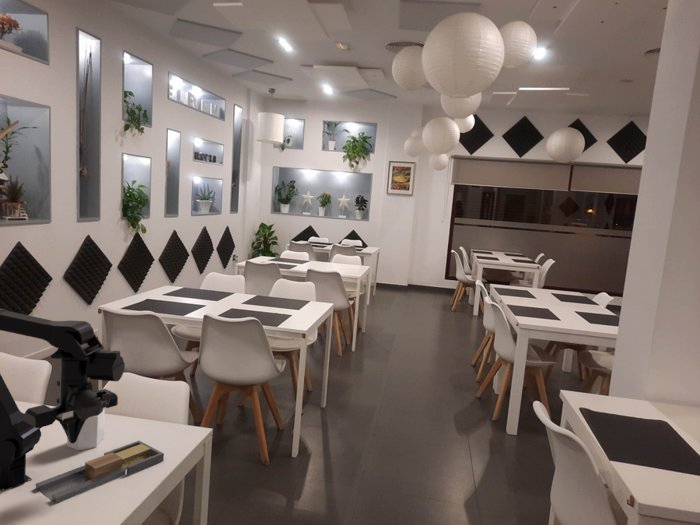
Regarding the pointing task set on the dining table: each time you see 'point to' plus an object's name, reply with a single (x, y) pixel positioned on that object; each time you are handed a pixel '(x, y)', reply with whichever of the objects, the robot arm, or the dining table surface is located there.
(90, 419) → the jar
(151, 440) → the dining table surface
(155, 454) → the tray
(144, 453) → the tan wooden block
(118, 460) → the tan wooden brick
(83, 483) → the rail bed
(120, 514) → the dining table surface
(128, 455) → the olive wooden block
